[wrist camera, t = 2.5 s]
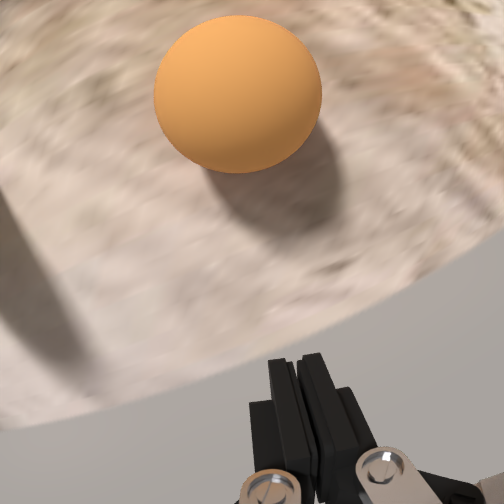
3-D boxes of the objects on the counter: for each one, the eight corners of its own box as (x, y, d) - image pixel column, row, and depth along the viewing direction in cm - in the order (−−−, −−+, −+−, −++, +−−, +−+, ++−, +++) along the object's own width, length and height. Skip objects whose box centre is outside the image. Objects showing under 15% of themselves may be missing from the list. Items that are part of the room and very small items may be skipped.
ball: (176, 177, 14) (146, 193, 8) (164, 55, 12) (130, 2, 7) (306, 163, 14) (356, 171, 9) (292, 43, 13) (331, -13, 7)
